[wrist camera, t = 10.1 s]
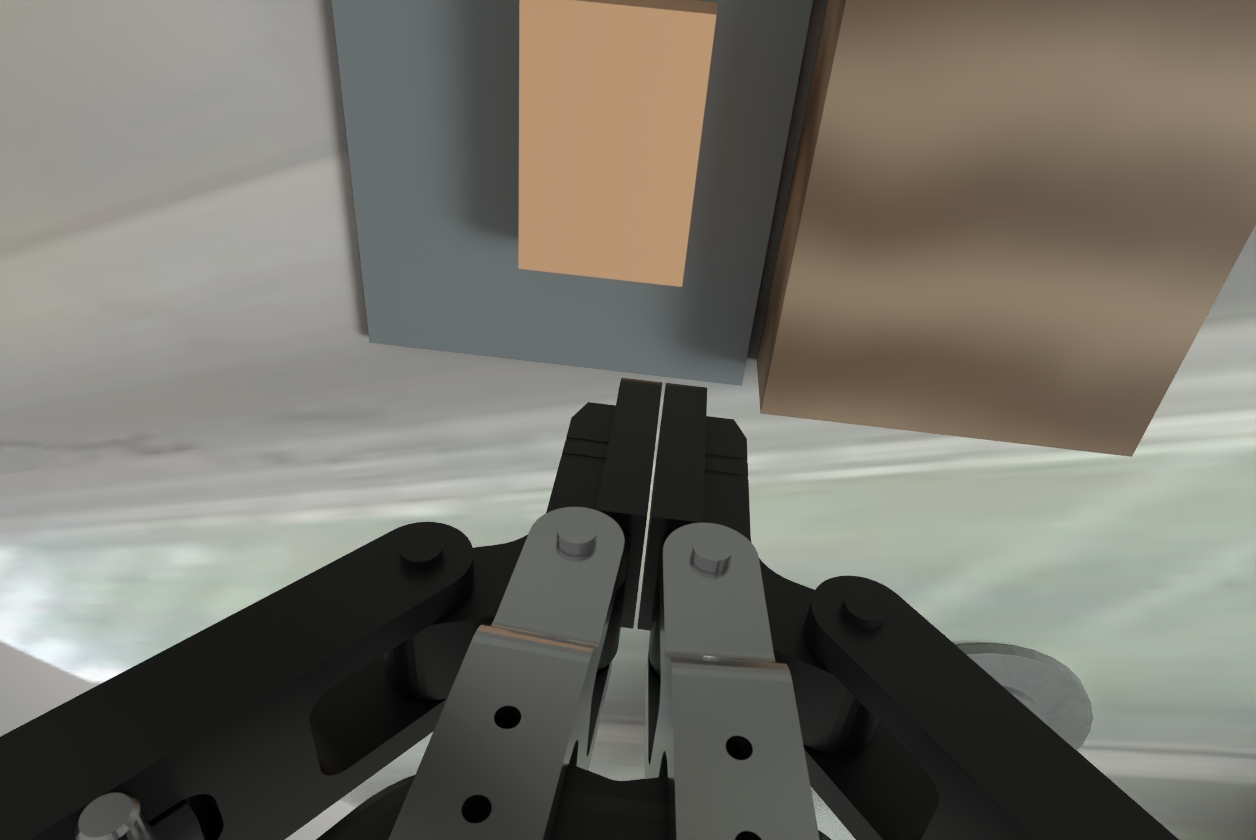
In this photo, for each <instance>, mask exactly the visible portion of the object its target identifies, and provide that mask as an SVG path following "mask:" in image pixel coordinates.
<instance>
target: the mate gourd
mask: <svg viewBox="0 0 1256 840" xmlns="http://www.w3.org/2000/svg"><path fill="white" fill-rule="evenodd" d="M956 646H957V647H958V648H959V649H961V650H962V651H963V652H964V653H965V654H966V655H967V656H969V657H970V658H971V659H972V660H973V661H974V662H975V663H977V664H978V665H979V666H980V667H981V668H982V669H983V670H985V671H986V672H987V673H988V674H989V675H990V676H992V677H993V678H994V679H995V680H996V681H997V682H998V683H1000V684H1001V685H1002V686H1003V687H1004V688H1005V689H1006V690H1008V691H1009V692H1010V693H1011V694H1012V695H1013V696H1014V697H1016V698H1017V699H1018V700H1019V701H1020V702H1021V703H1022V704H1024V705H1025V706H1026V707H1027V708H1028V709H1029V710H1031V711H1032V712H1033V713H1034V714H1035V715H1036V716H1037V717H1039V718H1040V719H1041V720H1042V721H1043V722H1044V723H1045V724H1047V725H1048V726H1049V727H1050V728H1051V729H1052V730H1053V731H1055V732H1056V733H1057V734H1058V735H1059V736H1060V737H1061V738H1063V739H1064V740H1065V741H1066V742H1067V743H1068V744H1070V745H1071V746H1072V747H1073V748H1074V749H1075V750H1076V751H1077V750H1078V749H1079V748H1080V746H1081V745H1082V744H1083V742H1084V741H1085V739H1086V737H1087V735H1088V733H1089V732H1090V728H1091V723H1092V718H1093V716H1092V708H1091V702H1090V700H1089V698H1088V696H1087V693H1086V691H1085V689H1084V687H1083V685H1082V683H1081V681H1080V680H1079V679H1078V678H1077V676H1076V675H1075V674H1074V673H1073V672H1072V671H1071V670H1070V669H1069V668H1068V667H1066V666H1065V665H1063V664H1062V663H1060V662H1058V661H1057V660H1055V659H1054V658H1052V657H1049V656H1047V655H1044V654H1042V653H1040V652H1037V651H1035V650H1031V649H1026V648H1022V647H1018V646H1013V645H1004V644H992V643H981V644H962V645H956Z"/></svg>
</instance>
